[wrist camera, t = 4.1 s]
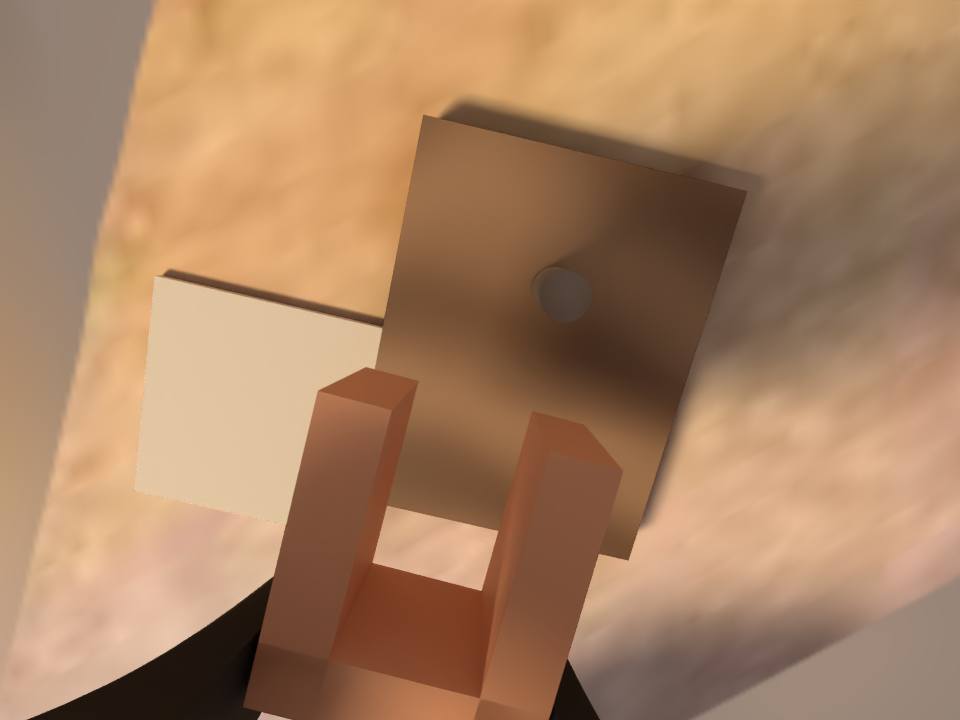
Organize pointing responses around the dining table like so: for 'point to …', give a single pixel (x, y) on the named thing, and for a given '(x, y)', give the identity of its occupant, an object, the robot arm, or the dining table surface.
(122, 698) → the robot arm
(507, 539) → the c link
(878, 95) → the dining table surface
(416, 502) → the stand
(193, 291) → the felt mat
